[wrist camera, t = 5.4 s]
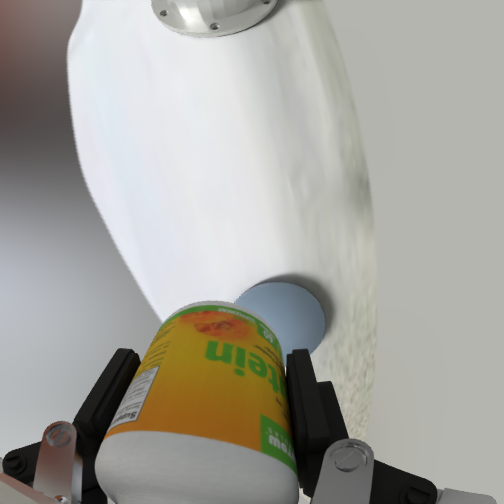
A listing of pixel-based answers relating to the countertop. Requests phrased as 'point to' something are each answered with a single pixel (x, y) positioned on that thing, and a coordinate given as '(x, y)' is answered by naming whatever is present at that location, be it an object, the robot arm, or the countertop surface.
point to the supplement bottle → (204, 416)
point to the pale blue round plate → (287, 314)
